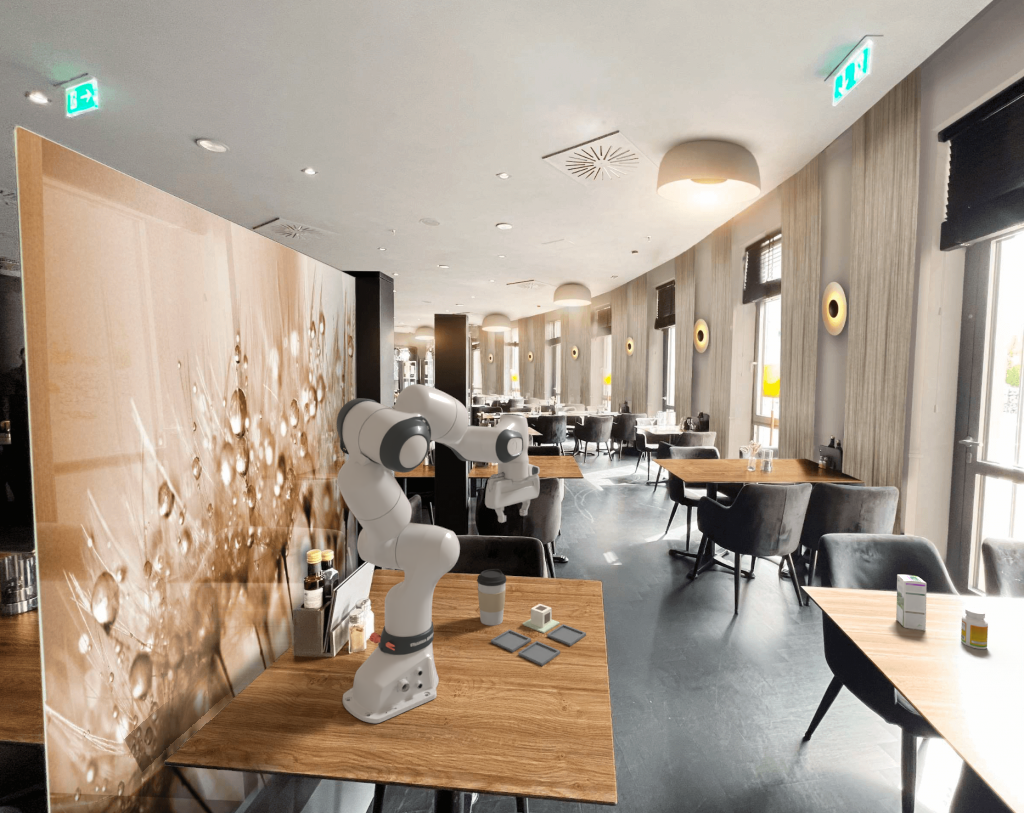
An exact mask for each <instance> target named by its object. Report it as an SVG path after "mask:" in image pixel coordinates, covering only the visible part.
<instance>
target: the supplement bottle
mask: <svg viewBox="0 0 1024 813" xmlns="http://www.w3.org/2000/svg"><path fill="white" fill-rule="evenodd" d="M964 612H965V615H962V617H961V628H960V629H961V630H960V632H961V633H960V641H961V643H962V644H963V645H965V646H967V647H970V648H972V649H977V650H985V649H987V648H988V634H989V622H988V621H987V620H986V619H985V618H986V613H985V612H984V611H983V610H981V609H978V608H975V607H974V608H973V607H965V611H964Z"/></svg>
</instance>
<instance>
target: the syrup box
mask: <svg viewBox="0 0 1024 813" xmlns="http://www.w3.org/2000/svg"><path fill="white" fill-rule="evenodd" d="M896 578H897V579H896V612H895V613H896V621H898V623H899V624H900V625H901V627H903V628H906V629H910V630H917V631H926V629H927V628H926V626H927V582H926V581H924V580H923V579H922V578H920V577H919V576H917V575H912V574H897V575H896Z"/></svg>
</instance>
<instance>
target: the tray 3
mask: <svg viewBox="0 0 1024 813" xmlns="http://www.w3.org/2000/svg"><path fill="white" fill-rule="evenodd" d="M586 636H587V632H585V631H583V630H580V629H578V628H577V629H576V628H574V627H573V626H569V625H568V624H564V623H563V624H561V625H559V626H558V627H557V628H554V629H553V630H552V631H550V632H549V633H547V635H546V637H547V638H549V639H552V640H554V641H557V642H559V643H562V644H564V645H567V646H569V647H572V646H573V645H575V644H576V643H577V642H579V641H581V640H582V639H583V638H585V637H586Z"/></svg>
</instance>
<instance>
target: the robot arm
mask: <svg viewBox="0 0 1024 813" xmlns="http://www.w3.org/2000/svg"><path fill="white" fill-rule="evenodd" d="M394 403H395V404H394V405H392V406H391V407H390V406H388V405H384V404H383V403H379V402H377V401H376V400H374V399H370V398H366V397H365V398H364V397H363V398H361V397H360V398H359V397H358V398H353V399H350V400H348V401H347V402H346V403H344V405H342V407H341V408H340V409H339V412H338V414H337V417H336V432H337V435H338V438H339V449H340V450H341V451H342V452H343V453H344V454H346V455H348V459H347V461H346V462H344V463H343V465H342V466H341V467H340V469H339V471H338V474H337V477H336V478H337V485H338V488H339V491H340V494H341V496H342V497H343V500H344V502H345V504H346V506H347V507H348V509H349V510H350V511H351V513H352V515H353V516H354V517H355V518H356V520H357V522H358V523H359V524H360V526H361V527H362V529H361V530H360V532H359V535H358V538H357V545H356V547H357V548H356V549H357V552H358V555H359V557H360V559H361V560H362V561H364V562H366V563H368V564H371V565H374V566H376V567H380V568H385V569H386V568H387V569H393V570H400V571H403V572H404V579H403V581H400V582H399V583H396V584H395V585H393V586H392V587H391V588H390V589H388V592H387V593H386V595H385V598H384V625H383V626H384V627H383V628H382V631H381V634H379V633H377V632H375V631H374V632H371V634H370V635H369V640H370V642H372V643H374V644H377V645H378V646H376V648H375V649H374V651H372V653H371V654H370V655H369V656H368V657H367V658H366V659H365V661H364V662H363V663H362V664H361V665H360V667H358V669H357V670H356V672H355V674H354V678H353V686H352V687H350V688H349V689H348V690H347V691H345V692H343V695H342V704H343V707H344V708H345V709H346V711H347V712H348V713H349V714H351V715H353V716H354V717H355V718H357V719H358V720H360V721H363V722H366V723H369V724H379V723H382V722H384V721H388V720H389V719H392V718H394V717H396V716H399V715H400V714H404V713H405V712H408V711H410V710H411V709H414V708H417V707H418V706H421V705H423V704H425V703H428V702H431V701H432V700H434V699H437V696H438V695H437V688H438V685H439V681H440V680H439V679H440V677H439V676H438V671H437V668H436V664H435V657H434V647H433V641H434V634H435V633H434V631H435V630H434V622H433V620H432V618H433V617H432V616H433V613H432V612H433V596H434V591H435V588H436V586H437V584H438V582H439V580H440V579H441V578H443V576H444V575H445V574H446V573H448V572H450V571H451V570H452V569H453V568H454V567H455V565H456V563H457V562H458V560H459V557H460V550H461V546H460V541H459V538H458V536H457V535H456V533H455V532H454V531H453V530H451V529H448V528H445V527H443V526H439V525H437V524H436V525H434V524H426V523H417V522H416V523H415V522H411V519H412V512H413V510H412V505H411V504H412V503H410V501H409V499H408V497H407V496H406V494H405V492H404V491H403V489H402V487H401V485H400V484H399V483H398V481H397V479H396V478H395V476H394V475H393V472H395V473H396V472H397V473H402V474H403V473H404V474H405V473H410V472H412V471H414V470H415V469H417V468H418V467H419V466H420V465H421V464H422V463H423V462H424V461H425V459H426V457H427V454H428V452H429V450H430V445H431V441H433V442H436V443H439V444H442V445H444V446H445V447H448V448H449V449H451V451H452V452H453V453H454V455H455V456H456V457H457V459H458V460H460V461H462V462H481V463H489V464H490V463H494V464H497V473H494V474H491V475H490V477H489V478H488V479H487V484H486V488H485V498H484V504H485V506H486V508H488V509H492V510H495V513H496V515H497V521H498V522H499V523H501V524H502V523H505V522H507V515H505V513H504V511H505V507H507V506H512V505H515V504H519V503H522V505H521V508H520V509H519V515H520V516H521V517H525V516H528V509H529V507H530V504H531V500H533V499H537V498H538V497H539V495H540V490H541V489H540V484H541V482H540V476H539V474H540V471H541V470H540V467H539V466H536V465H534V464H531V463H530V458H529V455H528V454H529V453H528V450H529V446H530V436H529V432H530V431H529V424H528V419H527V418H526V416H524V415H522V414H518V413H516V414H515V413H502V414H500V416H499V422H498V423H497V424H496V425H494V426H480V425H479V426H478V425H477V426H476V425H469V420H470V419H469V412H468V409H467V408H466V406H465V405H464V404H463V403H462V402H461V401H460V400H459V399H456V398H455V397H453V396H452V395H450V394H449V393H446V392H444V391H442V390H439V389H438V388H435V387H431V386H429V385H425V384H419V383H415V384H410V385H408V386H406V387H404V388H403V389H402V390H401V391H400V393H399V394H398V395H397V398H396V400H395V402H394Z"/></svg>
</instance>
